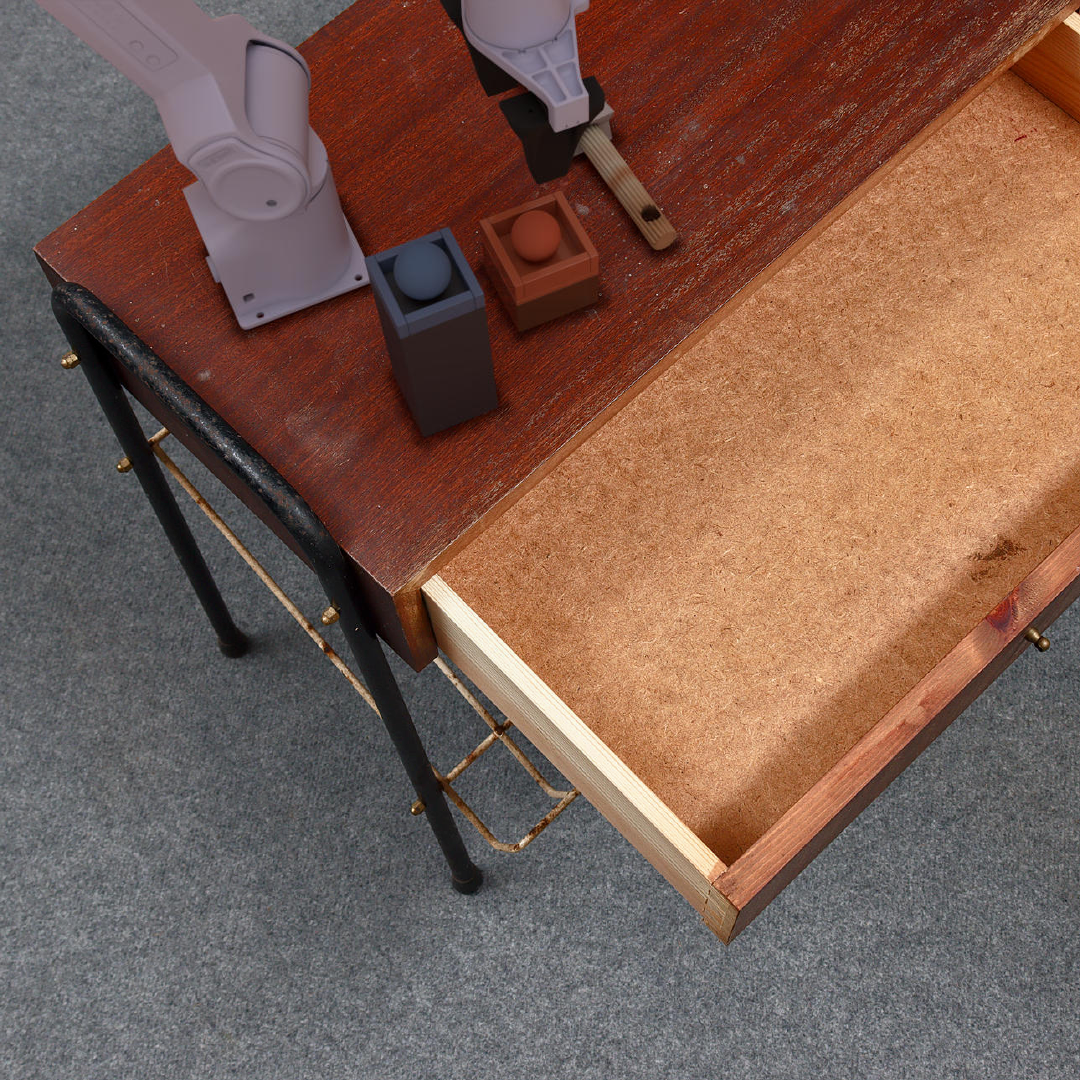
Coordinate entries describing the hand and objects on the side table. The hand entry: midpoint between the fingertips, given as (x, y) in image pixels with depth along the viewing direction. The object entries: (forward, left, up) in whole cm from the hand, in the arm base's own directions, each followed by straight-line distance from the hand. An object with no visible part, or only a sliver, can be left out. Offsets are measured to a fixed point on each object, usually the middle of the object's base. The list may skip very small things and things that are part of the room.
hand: (525, 131), depth 77 cm
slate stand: (-10, -9, -10) cm, 17 cm away
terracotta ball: (-1, -4, -5) cm, 7 cm away
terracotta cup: (-1, -4, -10) cm, 11 cm away
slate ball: (-10, -9, +2) cm, 13 cm away
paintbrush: (+7, +5, -11) cm, 14 cm away
